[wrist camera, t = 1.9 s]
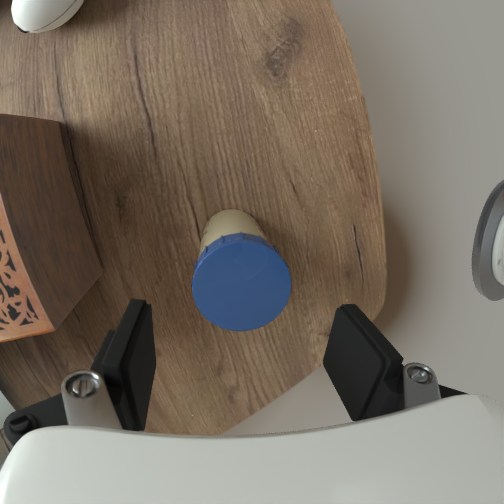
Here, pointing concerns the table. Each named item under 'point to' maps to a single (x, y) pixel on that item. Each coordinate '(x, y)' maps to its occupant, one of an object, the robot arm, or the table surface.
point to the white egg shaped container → (43, 14)
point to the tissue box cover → (39, 231)
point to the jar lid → (241, 282)
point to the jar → (229, 226)
